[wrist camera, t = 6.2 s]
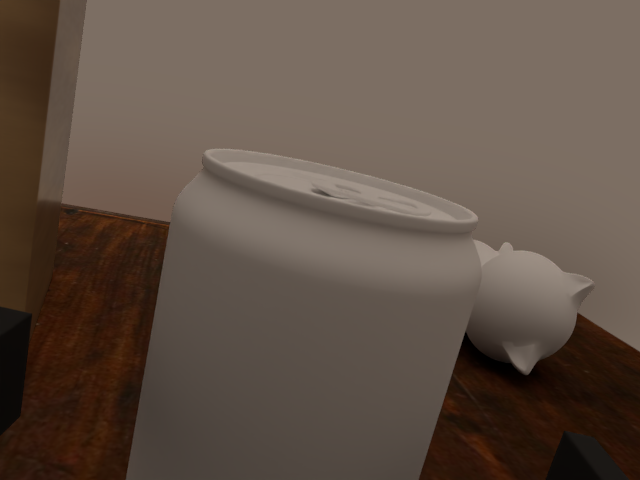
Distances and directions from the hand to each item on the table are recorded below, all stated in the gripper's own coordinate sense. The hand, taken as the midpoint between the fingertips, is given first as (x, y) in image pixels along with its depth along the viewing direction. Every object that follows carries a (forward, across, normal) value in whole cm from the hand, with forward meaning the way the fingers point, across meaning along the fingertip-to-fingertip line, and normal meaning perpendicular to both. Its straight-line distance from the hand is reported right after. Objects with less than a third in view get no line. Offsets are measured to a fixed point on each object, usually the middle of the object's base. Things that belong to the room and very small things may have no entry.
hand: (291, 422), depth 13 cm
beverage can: (+2, 0, +6) cm, 7 cm away
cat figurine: (+26, -15, +6) cm, 30 cm away
